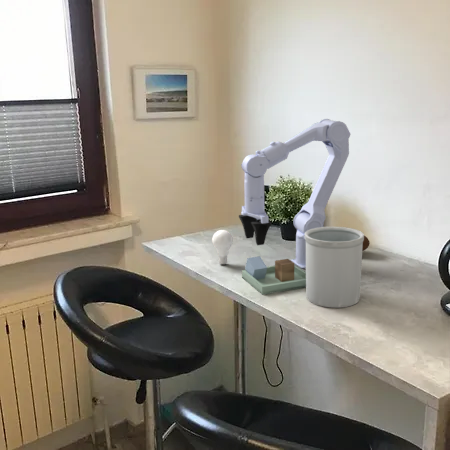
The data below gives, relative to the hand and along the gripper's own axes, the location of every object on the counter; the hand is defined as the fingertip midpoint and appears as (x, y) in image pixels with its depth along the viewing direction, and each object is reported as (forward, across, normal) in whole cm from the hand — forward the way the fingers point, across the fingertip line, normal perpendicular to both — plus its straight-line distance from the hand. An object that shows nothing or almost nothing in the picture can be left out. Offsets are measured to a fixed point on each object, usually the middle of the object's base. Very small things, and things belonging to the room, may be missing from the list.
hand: (254, 241), depth 167 cm
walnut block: (+8, +12, +4) cm, 15 cm away
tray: (+9, +12, +1) cm, 15 cm away
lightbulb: (+9, -8, -7) cm, 14 cm away
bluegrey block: (+6, +10, -3) cm, 13 cm away
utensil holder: (+9, +28, +9) cm, 31 cm away
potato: (+9, +1, +35) cm, 36 cm away
